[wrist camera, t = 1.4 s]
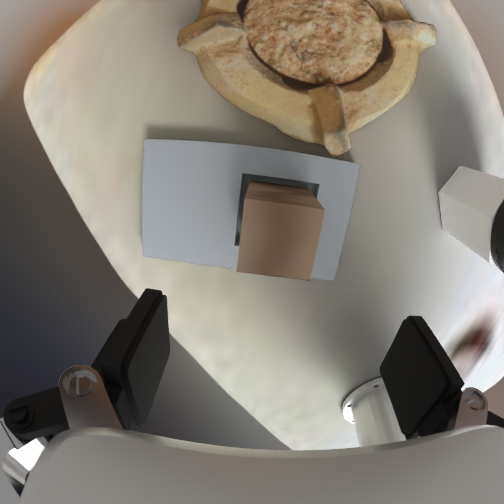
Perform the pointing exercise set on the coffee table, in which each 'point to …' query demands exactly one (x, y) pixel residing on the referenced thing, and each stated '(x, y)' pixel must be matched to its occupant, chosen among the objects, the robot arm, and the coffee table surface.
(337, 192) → the pocket board
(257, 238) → the block
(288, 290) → the coffee table surface
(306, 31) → the ashtray
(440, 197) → the jar
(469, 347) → the coffee table surface
